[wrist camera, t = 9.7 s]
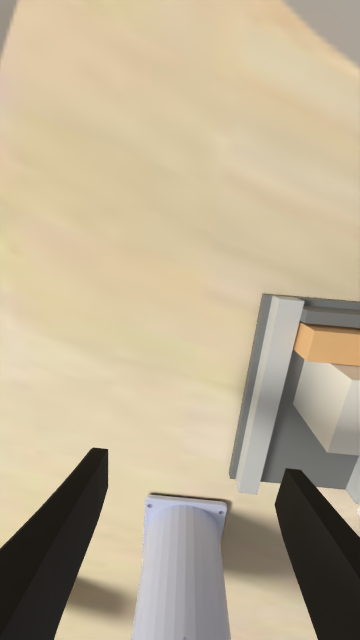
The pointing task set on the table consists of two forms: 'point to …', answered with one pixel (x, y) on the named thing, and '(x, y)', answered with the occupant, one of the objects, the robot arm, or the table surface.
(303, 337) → the block
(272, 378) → the rail mount
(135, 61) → the table surface
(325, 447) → the block
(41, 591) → the robot arm
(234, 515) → the table surface
